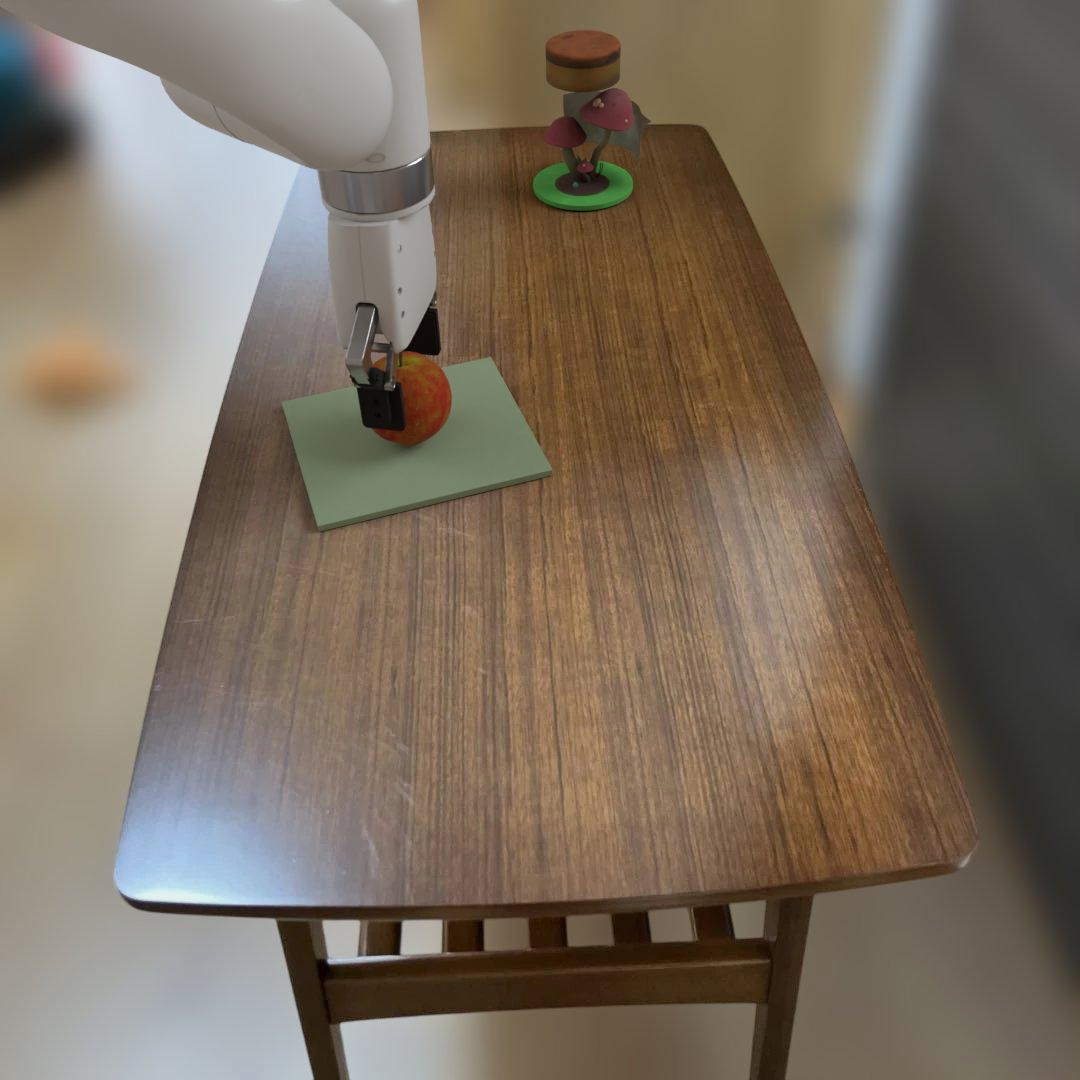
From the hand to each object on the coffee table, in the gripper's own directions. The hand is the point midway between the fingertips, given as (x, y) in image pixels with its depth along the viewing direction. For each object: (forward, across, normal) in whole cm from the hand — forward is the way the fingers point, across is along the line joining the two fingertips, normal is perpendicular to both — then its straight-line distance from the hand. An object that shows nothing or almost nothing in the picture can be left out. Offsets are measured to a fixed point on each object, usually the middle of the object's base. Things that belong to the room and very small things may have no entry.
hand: (403, 388), depth 85 cm
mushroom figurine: (+5, -44, +7) cm, 45 cm away
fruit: (+5, 0, 0) cm, 5 cm away
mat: (+5, 0, 0) cm, 5 cm away
